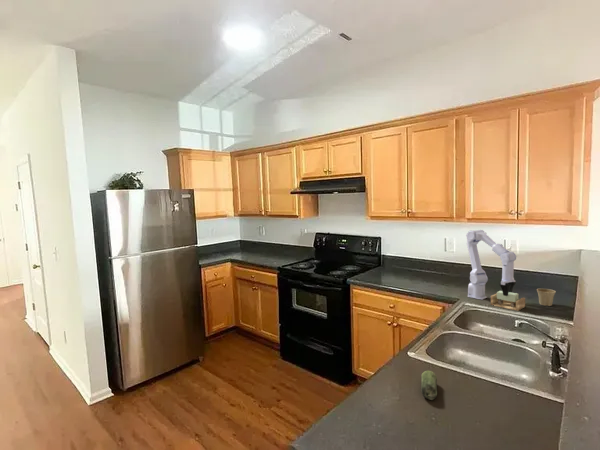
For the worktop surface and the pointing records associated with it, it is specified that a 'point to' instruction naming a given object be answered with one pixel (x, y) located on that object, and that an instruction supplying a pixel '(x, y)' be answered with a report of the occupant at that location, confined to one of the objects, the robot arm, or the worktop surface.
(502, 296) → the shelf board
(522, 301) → the peg cradle
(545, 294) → the flower pot
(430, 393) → the vegetable
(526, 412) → the worktop surface
